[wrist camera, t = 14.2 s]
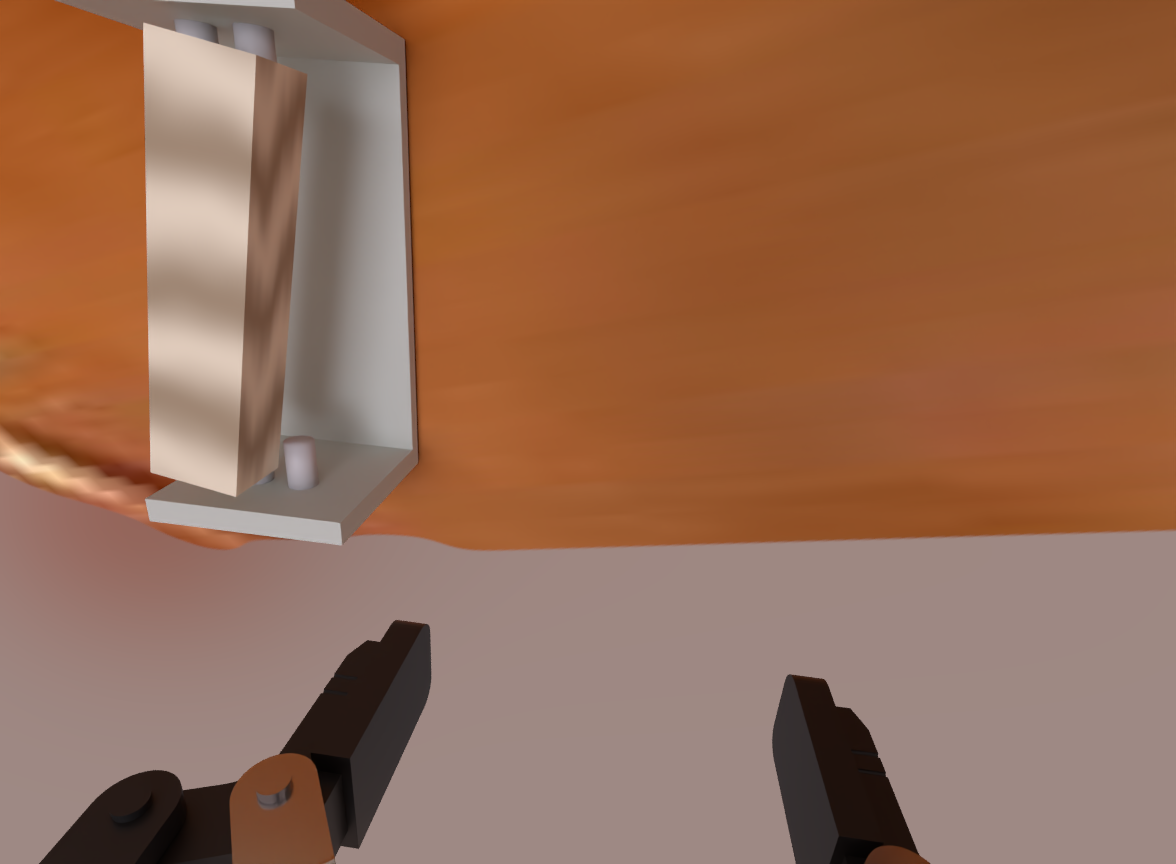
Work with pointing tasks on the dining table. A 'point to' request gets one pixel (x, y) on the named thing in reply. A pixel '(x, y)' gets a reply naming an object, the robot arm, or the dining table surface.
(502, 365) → the dining table surface
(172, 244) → the shelf board
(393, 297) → the grey c-shaped frame
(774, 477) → the dining table surface
